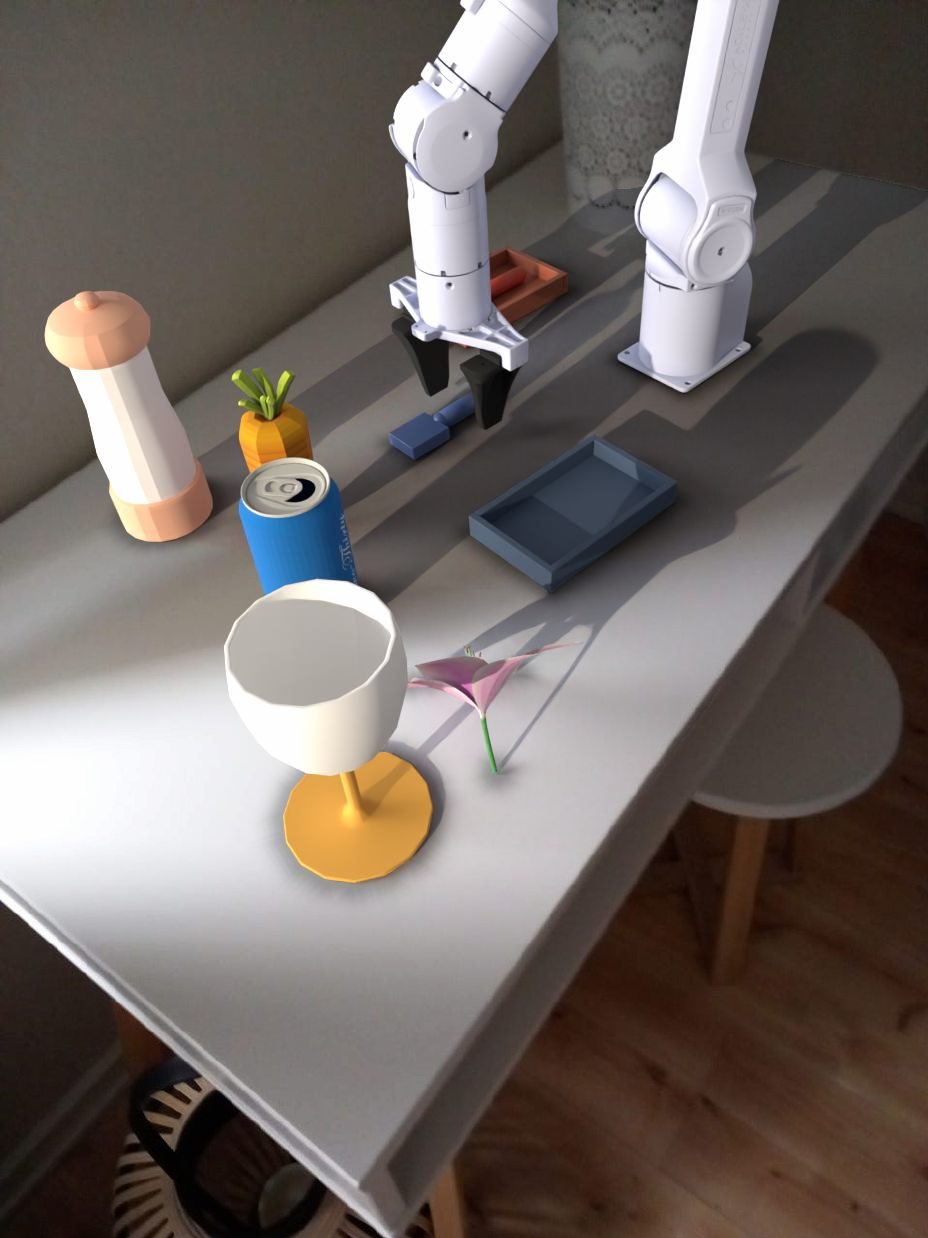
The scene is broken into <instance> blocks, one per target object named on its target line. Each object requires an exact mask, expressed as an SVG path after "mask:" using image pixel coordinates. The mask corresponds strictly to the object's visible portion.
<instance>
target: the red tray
mask: <svg viewBox="0 0 928 1238" xmlns="http://www.w3.org/2000/svg"><path fill="white" fill-rule="evenodd" d="M489 264H490V281H491V280H492V279H494V278H496V277H498V276H500V275H502V274H504V273H506V272H508V271H510V270H511V269H513V268H515V267H522V268H524V270H525V271H526V279H525V281H524V282H522V283H521V284H519V285H517V286H515V287H513V288H511V289H509V290H507V291H506V292H504V293H502V294H500V295H498V296H496V297H494V298H493V299H491V302H492V303H493V304H494V306H495V307H496V308H497V309H498V310H499V311H500V313H501V314H502V315H503V316H504V317H505V319H506V320H507V321H508V322H509V323H510V324H512V323H514V322H516V321H518V320H519V319H521V318H523V317H525V316H527V315H528V314H530V313H532V312H534V311H535V310H537V309H539V308H542V307H543V306H544V305H546V304H548V303H550V302H552V301H553V300H555V299H557V298H559V297H561V296H563V295H564V294H567V293H568V284H569V280H568V279H569V275H568V272H565V271H564V270H561V269H559V268H557V267H554V266H553V265H550V264H548V263H546V262H544V261H542V260H540V259H538V258H536V257H533V256H531V255H529V254H527V253H525V252H523V251H520V250H518V249H516V248H514V247H512V246H509V245H505V246H503V247H501V248H499V249H497V250H496V251H493V252H491V253H489ZM457 344H458V345H459V346H462V347H464V348H465V349H468V348H469V347H470V346H468V345H464V344H460V343H457Z"/></svg>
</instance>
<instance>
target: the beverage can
mask: <svg viewBox="0 0 928 1238" xmlns="http://www.w3.org/2000/svg"><path fill="white" fill-rule="evenodd" d="M238 514H239V517H240V520H241V524H242V527H243V531H244V533H245V537H246V539H247V544H248V546H249V550H250V552H251V556H252V559H253V562H254V565H255V568H256V571H257V575H258V577H259V581H260V584H261V587H262V591H263V594H264V596H266V595H268V594H270V593H272V592H273V591H275V590H277V589H279V588H281V587H283V586H285V585H290V584H295V583H300V582H304V581H309V580H314V579H324V580H337V581H348V582H351V583H353V584H355V585H358V586H360V582H359V577H358V573H357V568H356V564H355V559H354V554H353V550H352V544H351V539H350V536H349V530H348V526H347V521H346V515H345V511H344V505H343V502H342V496H341V492H340V489H339V486H338V484H337V483H336V481H335V480H334V479H333V478H332V477H331V476H330V475H329V472H328V470H327V469H326V468H325V467H324V466H323V465H321V464H320V463H319V462H317V461H315V460H314V461H312V460H309V459H305V458H283V459H278V460H274V461H271V462H268V463H266V464H264V465H262V466H260V467H258V468H257V469H255V470H254V471H252V472H251V473H250V472H249V474H248V475H247V476H246V477H245V479H244V481H243V482H242V485H241V487H240V499H239V503H238Z"/></svg>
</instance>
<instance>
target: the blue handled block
mask: <svg viewBox="0 0 928 1238" xmlns="http://www.w3.org/2000/svg"><path fill="white" fill-rule="evenodd" d="M474 413H476V412H475V405H474V399H473V395H472V391H470V392H469V393H468V394H465V395H464V396H462V397H461V398H459V399H457V400H455V401H454V402H452V403H450V404H449V405H447V406H445V407H444V408H442V409H440V410H439V411H437V412H435V413H434V415H433V416H432V415H430V414H429V413H427V412H422V413H421V414H419V415H417V416H416V417H413V418H412V419H411V420H409V421H407V422H405V423H403V424H402V425H400V426H398V427H397V428H395V429H393V430H392V431H390V432H389V433H388V435H389V442H390V445H392V446H393V447H395V448H396V449H397V450H399V451H400V452H402V453H403V454H405V455H406V456H407V457H409V458H411V459H412V460H414V461H415V460H417V459H418V458H421V457H422V456H424V455H426V454H427V453H429V452H430V451H432V450H434V449H435V448H437V447H439V446H441V445H442V444H443V443H445V442H447V441H449V440H450V438H451V435H450V428H451V427H452V426H454V425H455V424H457V423H459V422H460V421H462V420H464V419H466V418H467V417H470V416H471V415H472V414H474Z"/></svg>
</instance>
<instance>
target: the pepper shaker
mask: <svg viewBox="0 0 928 1238" xmlns="http://www.w3.org/2000/svg"><path fill="white" fill-rule="evenodd" d="M44 339H45V341H44V342H45V345H46V347H47V350H48V351H49V353H50V354H51V355H52V356H53V358H55V360H57V361H58V362H59V363H60V364H62V365H64V366H66V367H67V368H69V370H70V372H71V375H72V378H73V380H74V382H75V384H76V387H77V390H78V393H79V395H80V397H81V399H82V401H83V402H82V403H83V404H84V406H85V409H86V411H87V412H86V413H87V416H88V421H89V425H90V429H91V433H92V434H91V435H92V438H93V442H94V447H95V450H96V451H95V452H96V455H97V457H98V459H99V461H100V464H101V465H102V467H103V470H104V472H105V474H106V476H107V478H108V480H109V490H108V491H109V492H108V493H109V496H110V497H111V500H112V503H113V505H114V507H115V509H116V511H117V514H118V516H119V518H120V521H121V522H122V523H121V524H122V525H123V527H124V528H125V530H126V532H127V533H128V534H129V535H131V537H134V538H135V539H138V540H141V541H144V542H153V543H154V542H155V543H156V542H157V543H158V542H159V543H162V542H167V541H172V540H177V539H179V538H182V537H184V536H186V535H189V534H191V533H193V531H196V530H197V529H198V528H200V527H201V526H202V525H203V524H204V523H205V522H206V521H207V520H208V518H209V517H210V516H211V513H212V510H213V508H214V505H213V504H214V503H213V496H212V493H211V490H210V487H209V484H208V480H207V477H206V475H205V473H204V469H203V466H202V465H201V463H200V462H199V460H198V459H197V458H196V457H195V456H194V455H193V452H192V449H191V445H190V443H189V442H190V441H189V439H188V435H187V432H186V429H185V427H184V425H183V423H182V422H181V421H180V418H179V416H178V415H177V413H176V411H175V409H174V407H173V406H172V403H170V400H169V399H168V397H167V395H166V393H165V391H164V390H163V387H162V383H161V381H160V378H159V376H158V373H157V370H156V367H155V365H154V362H153V359H152V356H151V353H150V351H149V348H148V343H149V342H150V339H151V317H150V316H149V315H148V313H147V312H146V310H145V309H144V307H143V306H142V305H141V303H140V302H139V301H137V300H135V299H134V298H133V297H132V296H130V295H128V294H126V293H125V292H120V291H115V290H98V291H92V290H85V291H81V292H79V293H77V294H76V295H75V296H74V297H72V298H70V299H68V300H66V301H64V302H62V303H61V304H59V305H58V306H57V307H56V308H54V309H53V310H52V312H51V313H50V314H49V316H48V317H47V321H46V325H45V331H44Z"/></svg>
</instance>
